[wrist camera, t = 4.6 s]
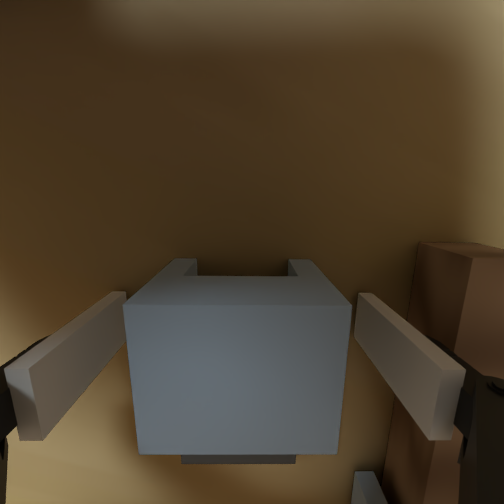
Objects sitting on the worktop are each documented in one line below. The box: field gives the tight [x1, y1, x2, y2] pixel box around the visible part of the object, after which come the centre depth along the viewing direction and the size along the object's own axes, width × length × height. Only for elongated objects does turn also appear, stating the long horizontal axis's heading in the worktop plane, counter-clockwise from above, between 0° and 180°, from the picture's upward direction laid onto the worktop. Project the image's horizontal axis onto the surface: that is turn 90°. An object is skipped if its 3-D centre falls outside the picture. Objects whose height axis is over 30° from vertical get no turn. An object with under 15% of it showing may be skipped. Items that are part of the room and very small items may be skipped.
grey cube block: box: [123, 258, 352, 464], centre depth 12 cm, size 7×7×6 cm
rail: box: [381, 242, 504, 504], centre depth 15 cm, size 22×3×4 cm, turn 179°
